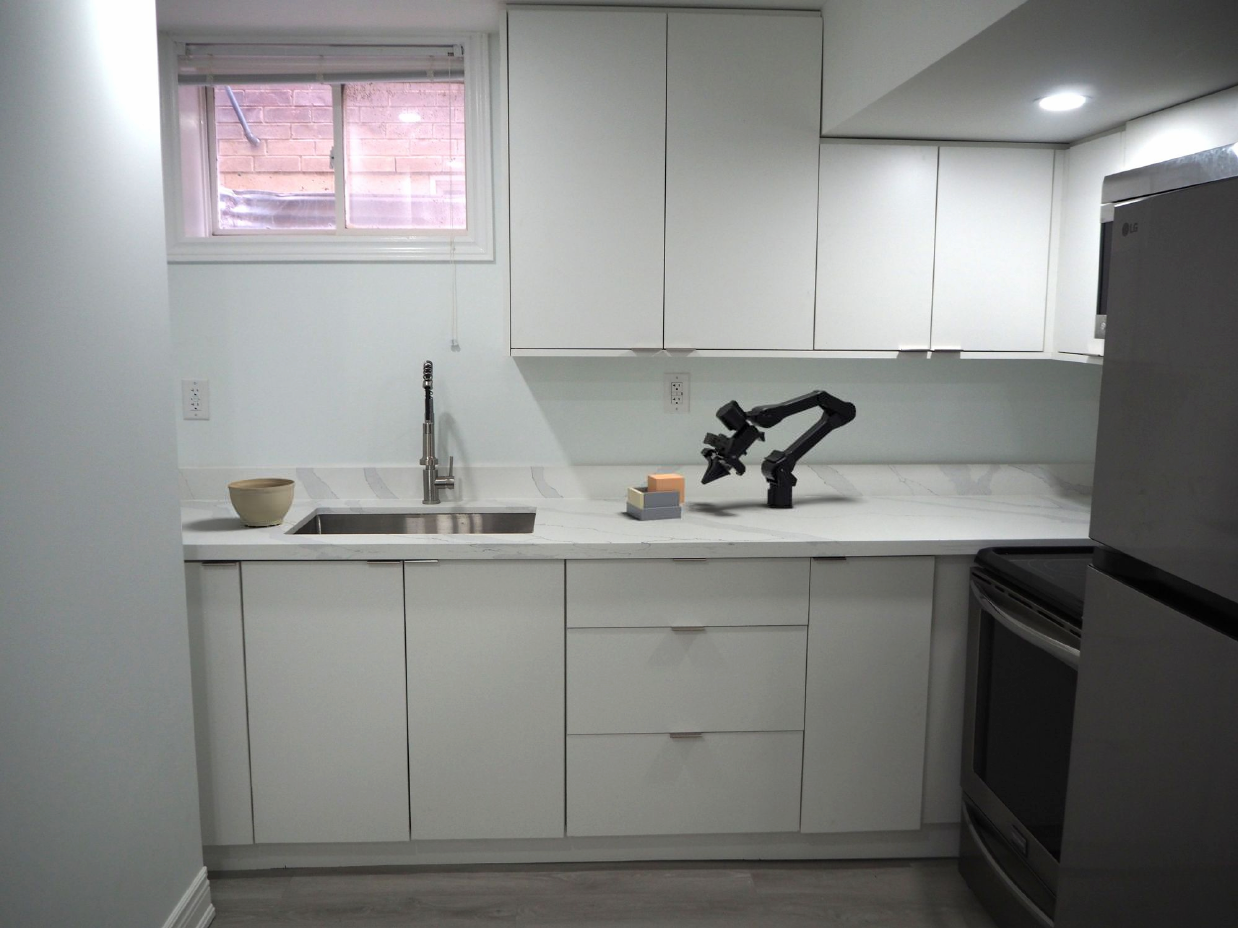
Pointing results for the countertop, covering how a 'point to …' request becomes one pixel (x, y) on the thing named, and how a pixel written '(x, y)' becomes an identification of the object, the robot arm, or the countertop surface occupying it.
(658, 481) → the orange block
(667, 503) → the open gray box
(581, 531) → the countertop surface
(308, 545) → the countertop surface
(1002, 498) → the countertop surface
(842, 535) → the countertop surface
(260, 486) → the planter bowl
